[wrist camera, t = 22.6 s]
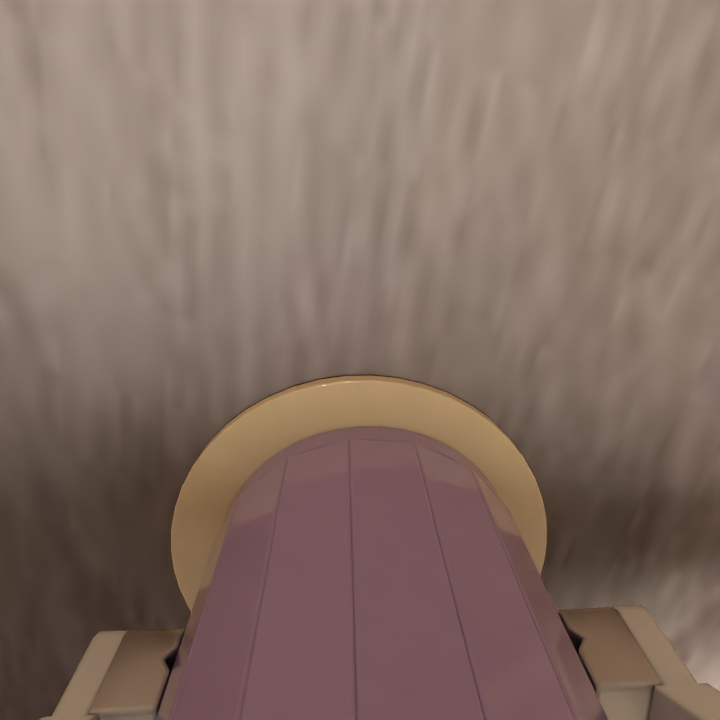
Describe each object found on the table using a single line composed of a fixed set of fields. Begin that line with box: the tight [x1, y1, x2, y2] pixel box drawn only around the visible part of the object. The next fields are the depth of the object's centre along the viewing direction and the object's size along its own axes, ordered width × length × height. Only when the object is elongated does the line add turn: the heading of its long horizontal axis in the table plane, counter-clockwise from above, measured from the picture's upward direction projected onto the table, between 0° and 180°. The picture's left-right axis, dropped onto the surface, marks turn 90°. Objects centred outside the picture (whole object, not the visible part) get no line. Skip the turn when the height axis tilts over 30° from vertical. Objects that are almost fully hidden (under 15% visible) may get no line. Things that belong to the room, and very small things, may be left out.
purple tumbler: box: [156, 427, 608, 720], centre depth 9 cm, size 6×6×7 cm
